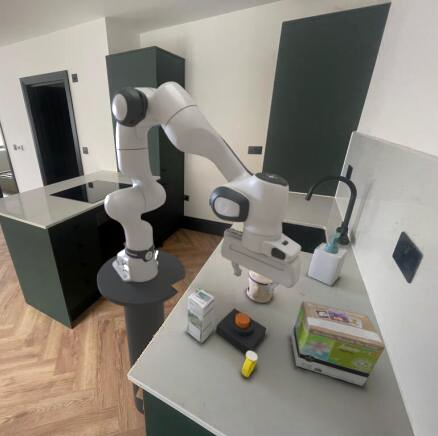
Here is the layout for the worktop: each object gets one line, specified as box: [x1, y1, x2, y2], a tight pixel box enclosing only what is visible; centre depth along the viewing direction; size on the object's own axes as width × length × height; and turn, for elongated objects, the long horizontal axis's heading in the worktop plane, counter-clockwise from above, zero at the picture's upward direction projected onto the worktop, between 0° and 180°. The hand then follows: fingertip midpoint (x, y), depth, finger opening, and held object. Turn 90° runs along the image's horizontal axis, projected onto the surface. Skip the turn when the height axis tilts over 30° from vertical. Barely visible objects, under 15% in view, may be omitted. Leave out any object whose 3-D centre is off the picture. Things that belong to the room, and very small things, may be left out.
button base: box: [215, 308, 267, 356], centre depth 70 cm, size 11×10×5 cm
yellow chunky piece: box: [241, 350, 259, 378], centre depth 59 cm, size 6×3×6 cm, turn 135°
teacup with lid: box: [246, 270, 273, 304], centre depth 83 cm, size 12×9×12 cm
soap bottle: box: [307, 232, 348, 287], centre depth 92 cm, size 9×9×19 cm
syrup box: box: [186, 287, 216, 344], centre depth 69 cm, size 6×6×14 cm
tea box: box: [290, 300, 386, 387], centre depth 60 cm, size 15×10×15 cm, turn 70°
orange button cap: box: [235, 312, 251, 329], centre depth 69 cm, size 4×4×2 cm
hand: (252, 282), depth 63 cm, fingers open, 8 cm apart
